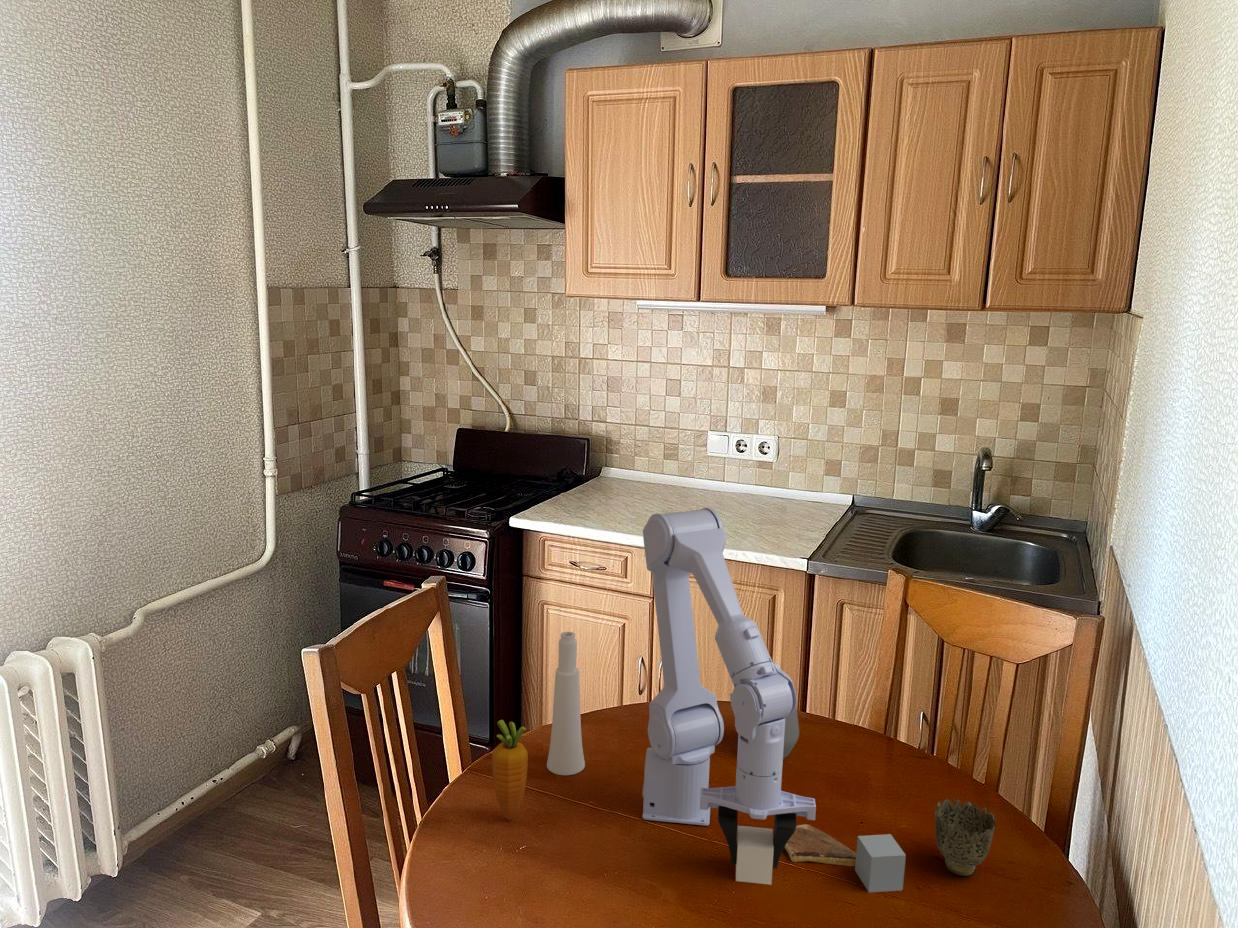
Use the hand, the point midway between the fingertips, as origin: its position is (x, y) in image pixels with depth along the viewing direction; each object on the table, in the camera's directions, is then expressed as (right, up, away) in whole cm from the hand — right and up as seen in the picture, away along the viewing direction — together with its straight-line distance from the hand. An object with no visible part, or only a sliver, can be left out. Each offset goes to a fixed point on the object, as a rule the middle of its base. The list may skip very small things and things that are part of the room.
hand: (753, 861), depth 116 cm
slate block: (+16, -2, -1) cm, 16 cm away
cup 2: (+27, -2, +2) cm, 28 cm away
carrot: (-33, +1, +10) cm, 35 cm away
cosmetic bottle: (-26, +4, +25) cm, 36 cm away
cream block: (0, -1, 0) cm, 2 cm away
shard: (+10, -1, +6) cm, 12 cm away
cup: (+7, +4, +31) cm, 32 cm away
